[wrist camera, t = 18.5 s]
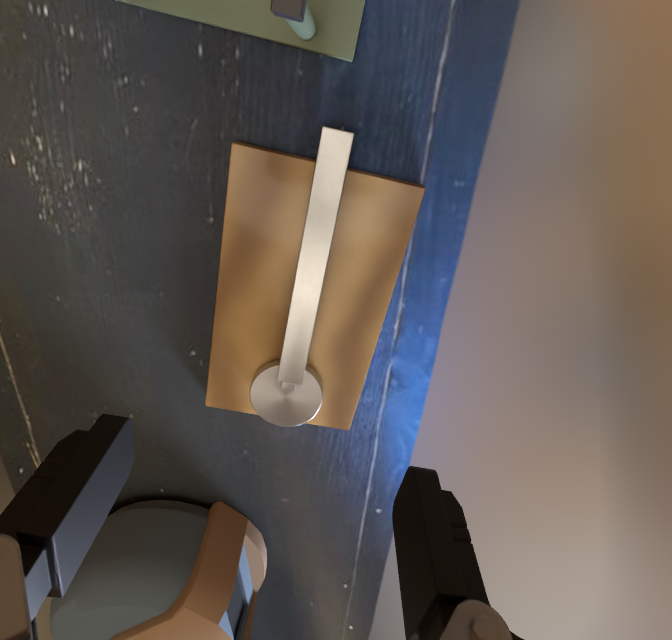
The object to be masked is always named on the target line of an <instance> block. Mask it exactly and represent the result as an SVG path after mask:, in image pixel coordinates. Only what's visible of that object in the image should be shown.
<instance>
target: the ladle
mask: <svg viewBox="0 0 672 640" xmlns="http://www.w3.org/2000/svg"><path fill="white" fill-rule="evenodd" d="M353 139H354V133H353V132H348V131H344V130H340V129H335V128H331V127H327V126H322V130H321V135H320V141H319V147H318V152H317V158H316V163H315V169H314V174H313V180H312V185H311V191H310V196H309V202H308V207H307V213H306V219H305V224H304V230H303V235H302V241H301V246H300V252H299V257H298V263H297V268H296V274H295V279H294V285H293V291H292V296H291V302H290V307H289V313H288V318H287V324H286V329H285V335H284V340H283V346H282V351H281V357H280V359H275V360H272V361H270V362H268V363H266V364H265V365H263V366H262V367H261V368H260V369H259V370H258V371H257V372H256V374H255V376H254V378H253V381H252V384H251V388H250V401H251V404H252V407H253V408H254V410H255V411H256V413H257V414H258V415H259V416H260V417H261V418H263V419H264V420H265V421H267V422H269V423H271V424H274V425H278V426H284V427H290V426H297V425H300V424H303V423H305V422H307V421H309V420H310V419H311V418H313V417H314V416H315V415H316V414H317V412H318V411H319V409H320V407H321V404H322V399H323V386H322V382H321V379H320V377H319V375H318V374H317V372H316V371H315V370H314V369H313V368H312V367H311V366H310V365H308V364H307V360H308V355H309V350H310V345H311V341H312V336H313V331H314V326H315V321H316V317H317V312H318V307H319V302H320V297H321V293H322V288H323V283H324V278H325V273H326V269H327V264H328V259H329V254H330V250H331V245H332V240H333V235H334V230H335V226H336V221H337V216H338V211H339V206H340V202H341V197H342V192H343V187H344V182H345V178H346V173H347V168H348V163H349V158H350V154H351V149H352V144H353Z"/></svg>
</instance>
